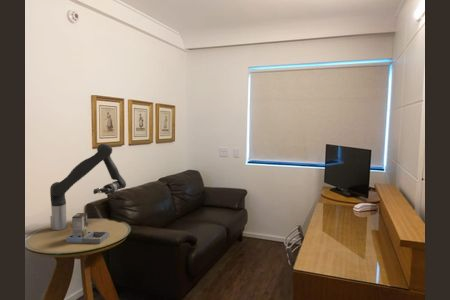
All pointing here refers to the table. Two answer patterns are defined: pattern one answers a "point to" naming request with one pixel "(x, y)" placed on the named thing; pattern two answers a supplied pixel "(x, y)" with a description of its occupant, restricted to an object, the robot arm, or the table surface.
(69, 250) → the table surface
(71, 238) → the divided tray
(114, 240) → the table surface
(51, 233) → the table surface
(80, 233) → the coffee box
